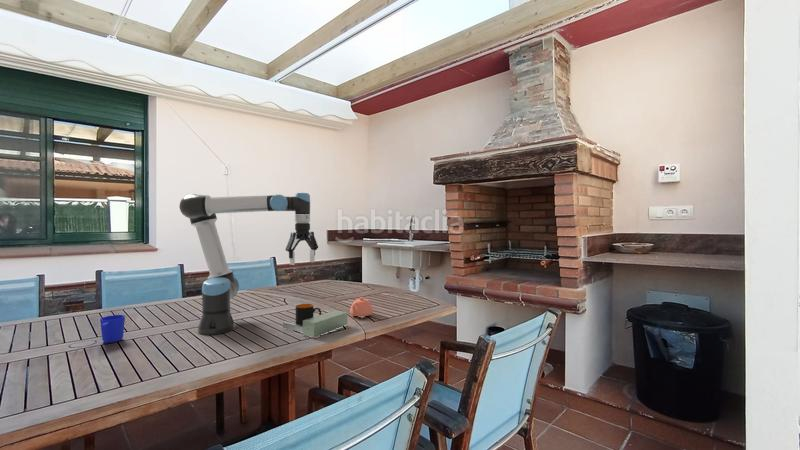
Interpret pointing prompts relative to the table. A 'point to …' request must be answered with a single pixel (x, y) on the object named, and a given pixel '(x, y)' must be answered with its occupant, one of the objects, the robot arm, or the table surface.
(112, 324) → the mug
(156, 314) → the table surface
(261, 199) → the robot arm
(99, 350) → the table surface
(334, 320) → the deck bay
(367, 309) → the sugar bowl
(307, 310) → the mug
